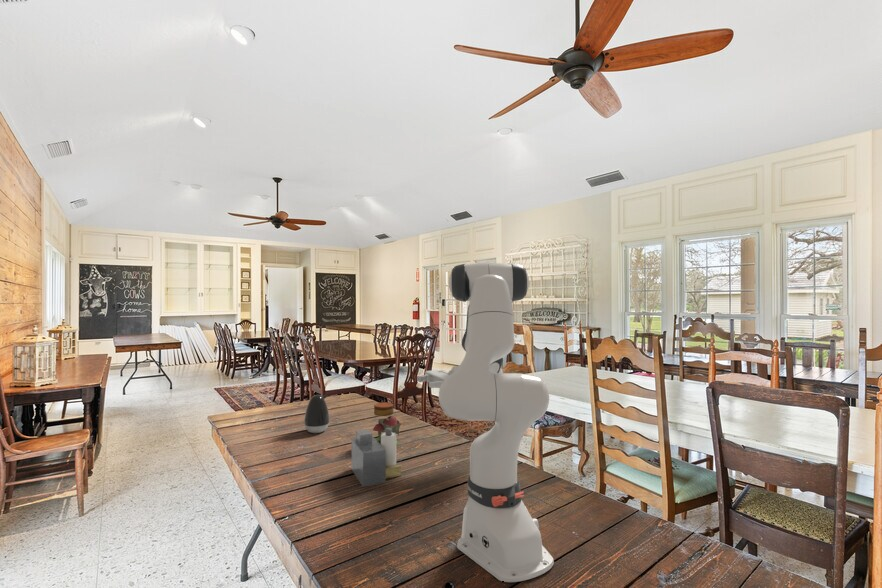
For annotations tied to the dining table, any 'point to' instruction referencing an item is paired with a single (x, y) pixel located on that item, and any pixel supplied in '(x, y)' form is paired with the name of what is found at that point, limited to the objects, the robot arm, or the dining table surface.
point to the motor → (370, 460)
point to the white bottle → (389, 446)
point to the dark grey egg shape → (317, 415)
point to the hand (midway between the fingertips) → (423, 382)
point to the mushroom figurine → (385, 419)
